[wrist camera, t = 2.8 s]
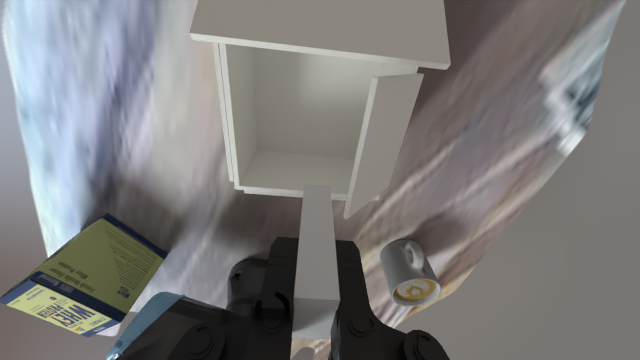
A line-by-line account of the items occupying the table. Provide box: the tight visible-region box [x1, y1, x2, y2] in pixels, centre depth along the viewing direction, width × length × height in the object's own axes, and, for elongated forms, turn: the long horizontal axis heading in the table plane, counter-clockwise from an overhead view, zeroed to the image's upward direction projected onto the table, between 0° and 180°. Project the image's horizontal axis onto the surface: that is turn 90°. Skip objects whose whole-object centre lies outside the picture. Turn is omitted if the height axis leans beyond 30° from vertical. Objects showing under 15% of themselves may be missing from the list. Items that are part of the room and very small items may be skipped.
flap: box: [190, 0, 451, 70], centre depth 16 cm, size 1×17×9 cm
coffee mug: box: [380, 240, 441, 307], centre depth 50 cm, size 13×10×10 cm
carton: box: [212, 42, 418, 201], centre depth 30 cm, size 24×20×12 cm
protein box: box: [0, 214, 167, 337], centre depth 46 cm, size 10×16×16 cm
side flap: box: [343, 73, 424, 220], centre depth 22 cm, size 13×1×9 cm
